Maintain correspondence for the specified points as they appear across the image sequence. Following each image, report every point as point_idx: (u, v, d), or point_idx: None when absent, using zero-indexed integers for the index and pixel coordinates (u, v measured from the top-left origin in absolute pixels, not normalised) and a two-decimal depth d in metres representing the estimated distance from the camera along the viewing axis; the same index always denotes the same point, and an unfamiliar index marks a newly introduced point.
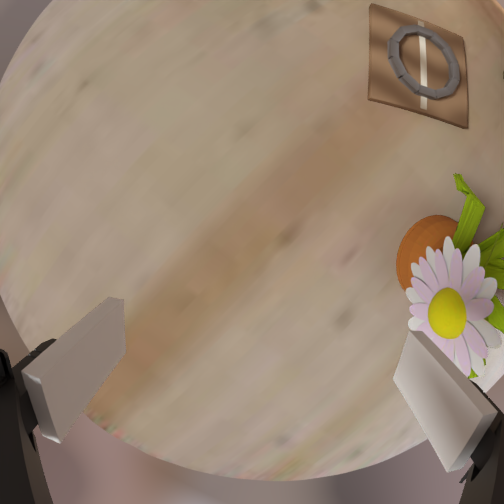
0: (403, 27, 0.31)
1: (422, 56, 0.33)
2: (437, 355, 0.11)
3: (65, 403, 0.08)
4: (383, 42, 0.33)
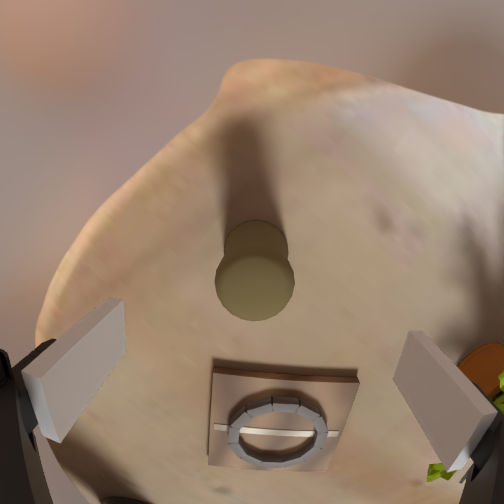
0: (238, 455, 0.33)
1: (270, 432, 0.33)
2: (437, 355, 0.11)
3: (65, 403, 0.08)
4: None
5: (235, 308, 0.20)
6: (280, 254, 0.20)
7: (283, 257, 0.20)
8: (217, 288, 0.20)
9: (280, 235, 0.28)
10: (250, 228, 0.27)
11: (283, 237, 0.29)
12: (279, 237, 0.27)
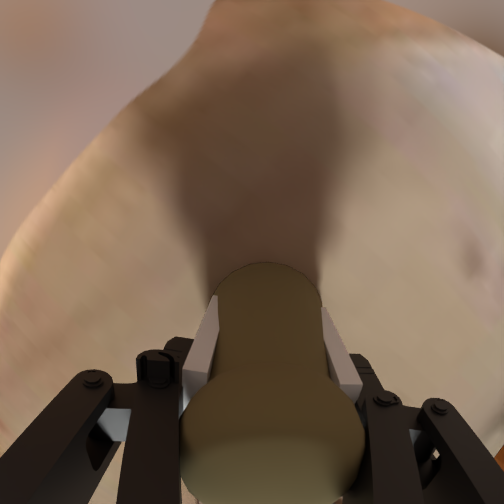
0: None
1: None
2: (326, 328, 0.13)
3: None
4: None
5: None
6: (342, 408, 0.07)
7: (349, 413, 0.07)
8: None
9: (313, 294, 0.15)
10: (257, 286, 0.13)
11: (317, 295, 0.15)
12: (313, 301, 0.14)
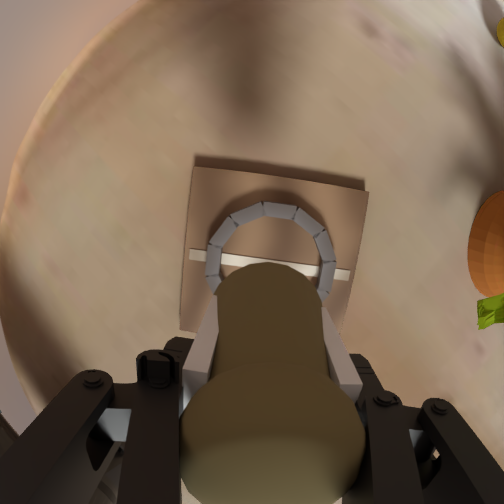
0: None
1: None
2: (326, 328, 0.13)
3: None
4: None
5: None
6: (343, 408, 0.06)
7: (349, 412, 0.07)
8: None
9: (313, 294, 0.15)
10: (257, 286, 0.13)
11: (317, 294, 0.15)
12: (313, 301, 0.14)
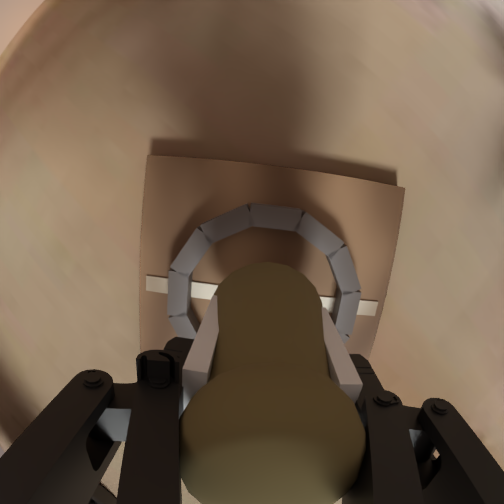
0: None
1: None
2: (326, 328, 0.13)
3: None
4: None
5: None
6: (343, 408, 0.06)
7: (349, 413, 0.07)
8: None
9: (313, 294, 0.15)
10: (257, 286, 0.13)
11: (317, 295, 0.15)
12: (313, 301, 0.14)
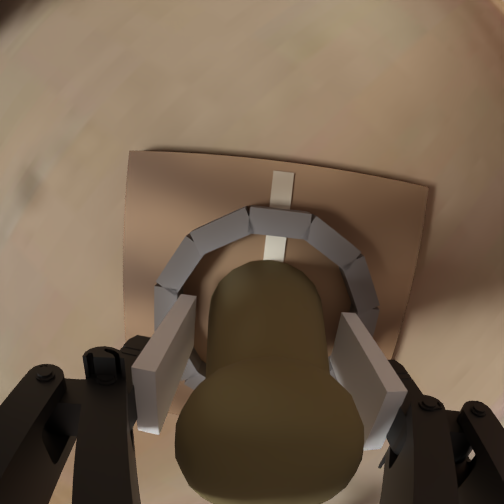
0: (198, 233, 0.15)
1: None
2: (361, 334, 0.12)
3: (164, 395, 0.10)
4: (151, 280, 0.17)
5: None
6: (341, 401, 0.07)
7: (347, 406, 0.07)
8: (180, 467, 0.07)
9: (312, 291, 0.15)
10: (256, 283, 0.13)
11: (316, 292, 0.16)
12: (312, 298, 0.14)
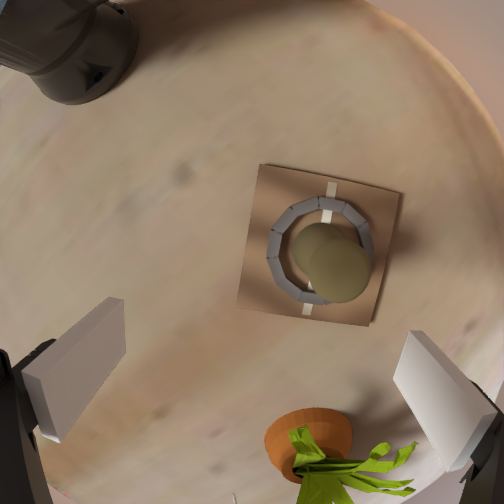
0: (295, 206, 0.32)
1: None
2: (437, 355, 0.11)
3: (65, 403, 0.08)
4: (264, 229, 0.34)
5: (327, 291, 0.24)
6: None
7: (365, 252, 0.24)
8: (313, 274, 0.24)
9: None
10: (322, 228, 0.31)
11: None
12: None
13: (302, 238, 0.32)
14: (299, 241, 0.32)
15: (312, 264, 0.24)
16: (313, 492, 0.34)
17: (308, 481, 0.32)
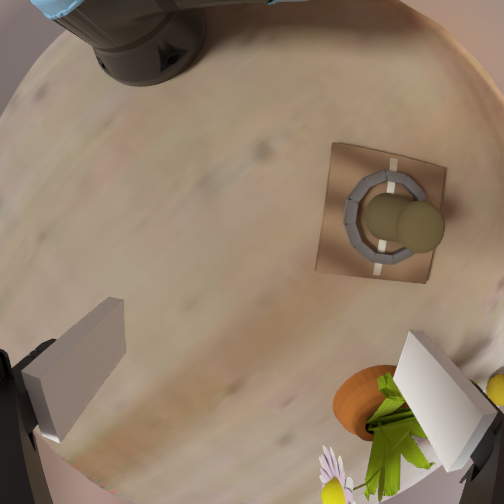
0: (368, 178, 0.35)
1: None
2: (437, 355, 0.11)
3: (65, 403, 0.08)
4: (341, 200, 0.37)
5: (416, 242, 0.27)
6: (437, 208, 0.27)
7: (439, 211, 0.27)
8: (404, 229, 0.27)
9: None
10: (392, 196, 0.34)
11: None
12: None
13: (376, 205, 0.35)
14: (373, 208, 0.35)
15: (403, 221, 0.27)
16: (383, 447, 0.38)
17: (382, 433, 0.36)
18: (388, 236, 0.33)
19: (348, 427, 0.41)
